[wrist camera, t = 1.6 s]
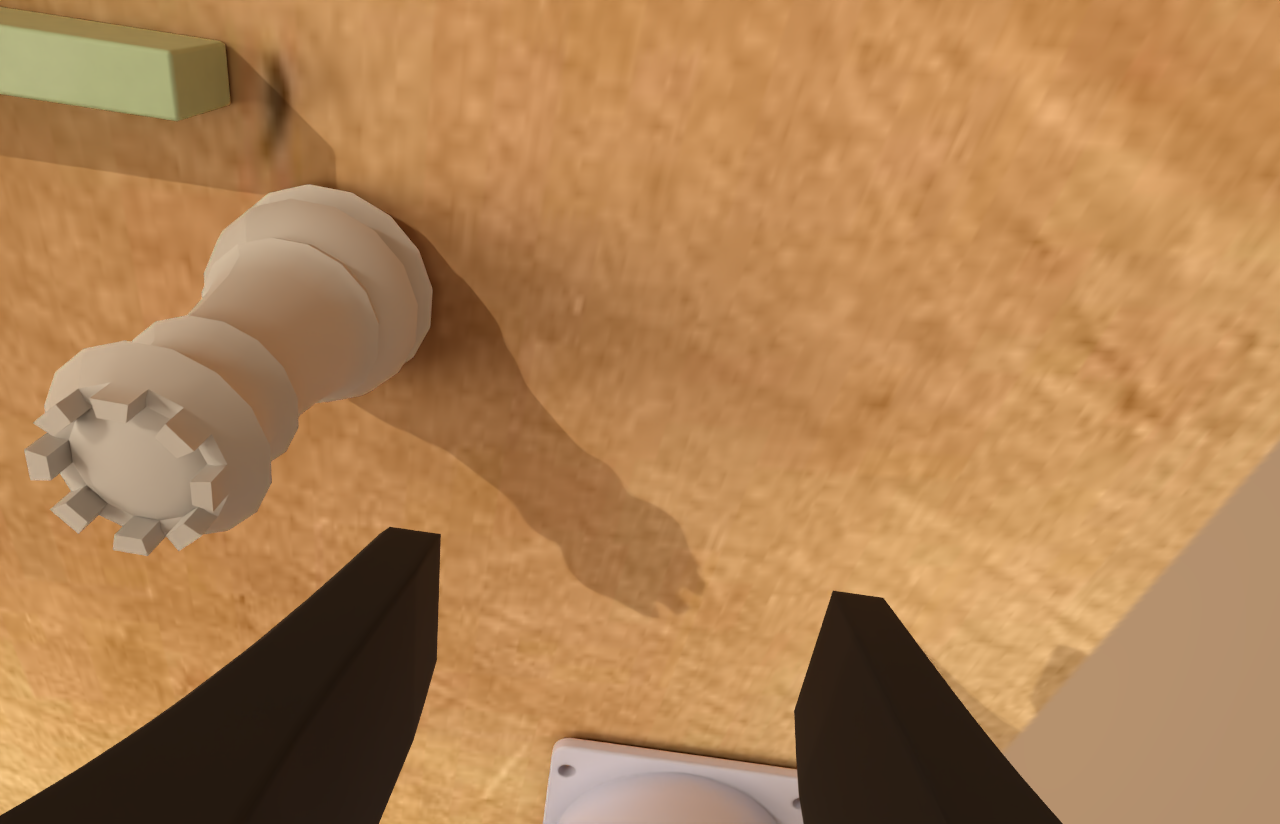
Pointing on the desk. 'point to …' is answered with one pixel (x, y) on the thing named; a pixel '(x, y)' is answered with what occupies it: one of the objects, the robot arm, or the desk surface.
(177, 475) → the rook chess piece
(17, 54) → the corner guide
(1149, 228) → the desk surface
